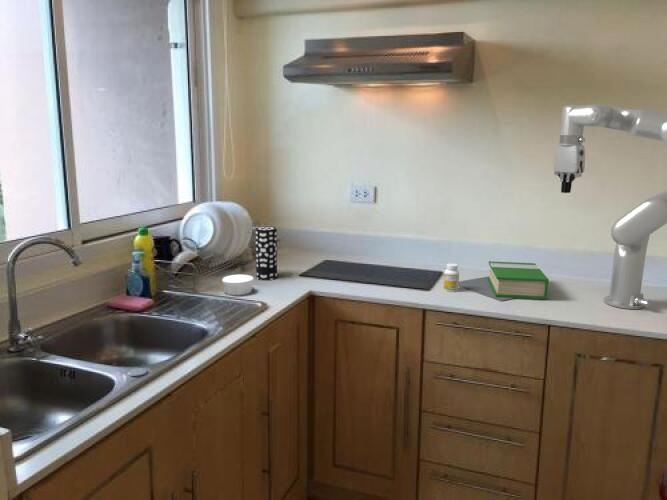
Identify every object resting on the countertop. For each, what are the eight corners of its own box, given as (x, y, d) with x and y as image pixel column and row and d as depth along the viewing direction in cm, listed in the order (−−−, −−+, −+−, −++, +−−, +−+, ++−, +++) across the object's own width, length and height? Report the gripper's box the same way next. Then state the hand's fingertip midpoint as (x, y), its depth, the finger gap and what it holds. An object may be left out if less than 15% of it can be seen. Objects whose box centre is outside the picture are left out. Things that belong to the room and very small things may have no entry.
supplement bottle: (448, 286, 217) (450, 262, 215) (460, 289, 213) (462, 264, 211) (440, 289, 213) (442, 264, 211) (452, 292, 210) (454, 267, 208)
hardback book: (497, 277, 202) (488, 261, 226) (495, 297, 204) (487, 279, 227) (548, 279, 200) (534, 263, 223) (546, 299, 202) (533, 281, 225)
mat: (547, 292, 212) (547, 291, 212) (501, 301, 200) (501, 300, 200) (495, 275, 234) (495, 275, 234) (451, 283, 222) (451, 282, 222)
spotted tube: (280, 278, 226) (280, 229, 222) (262, 281, 221) (261, 231, 217) (271, 273, 233) (270, 225, 228) (252, 276, 228) (251, 227, 224)
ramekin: (216, 294, 205) (216, 280, 204) (233, 286, 215) (232, 272, 214) (243, 298, 201) (243, 283, 200) (259, 289, 211) (259, 276, 210)
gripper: (596, 141, 197) (590, 194, 201) (560, 140, 209) (555, 189, 213) (582, 141, 193) (576, 195, 197) (546, 140, 206) (541, 190, 210)
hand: (565, 192), depth 205 cm, fingers closed
